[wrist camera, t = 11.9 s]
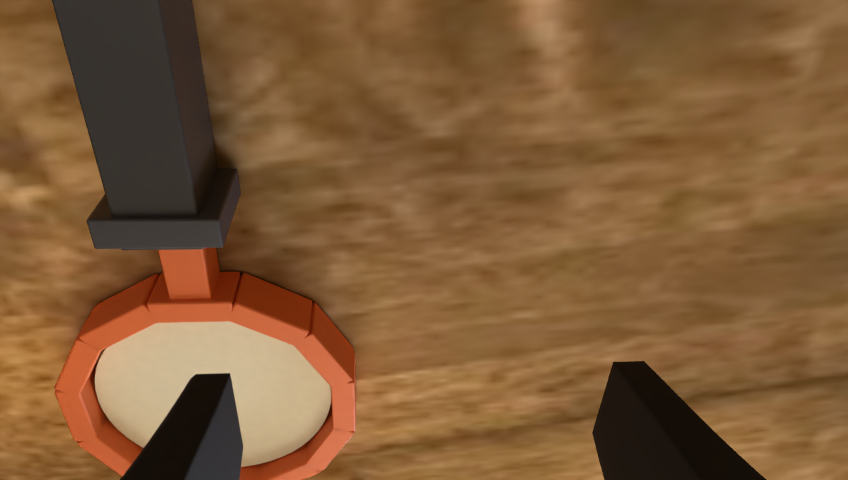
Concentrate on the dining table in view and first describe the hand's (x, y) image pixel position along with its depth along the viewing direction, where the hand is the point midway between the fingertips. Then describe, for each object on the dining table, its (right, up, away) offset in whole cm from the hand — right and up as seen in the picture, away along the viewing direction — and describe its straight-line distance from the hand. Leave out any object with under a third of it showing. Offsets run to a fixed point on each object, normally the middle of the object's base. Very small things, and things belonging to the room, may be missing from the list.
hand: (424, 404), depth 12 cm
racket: (-8, +3, +10) cm, 13 cm away
